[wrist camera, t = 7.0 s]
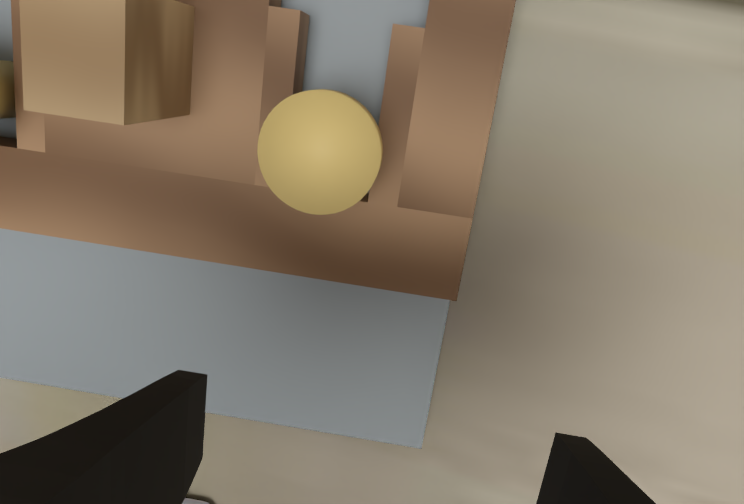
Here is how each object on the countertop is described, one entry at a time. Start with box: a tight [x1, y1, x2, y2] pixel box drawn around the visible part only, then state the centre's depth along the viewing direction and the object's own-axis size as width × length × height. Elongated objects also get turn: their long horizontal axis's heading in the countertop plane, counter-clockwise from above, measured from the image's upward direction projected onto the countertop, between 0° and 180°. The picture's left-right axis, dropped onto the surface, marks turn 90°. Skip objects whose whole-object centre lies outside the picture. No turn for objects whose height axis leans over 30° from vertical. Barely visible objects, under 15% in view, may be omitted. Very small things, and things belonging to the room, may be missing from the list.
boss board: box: [0, 0, 450, 449], centre depth 18 cm, size 22×20×5 cm
